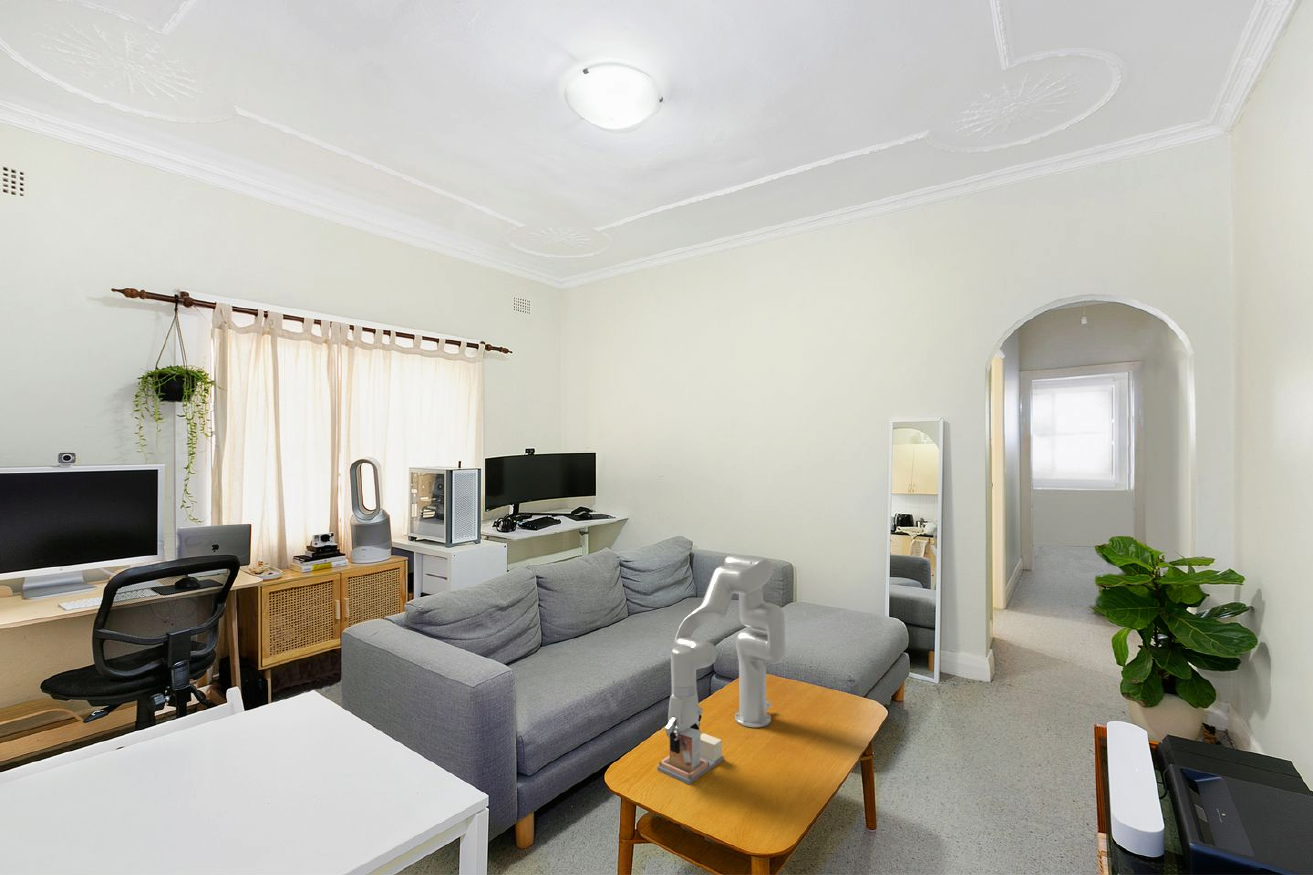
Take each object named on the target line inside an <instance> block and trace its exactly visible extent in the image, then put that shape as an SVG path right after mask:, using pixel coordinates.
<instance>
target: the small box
mask: <svg viewBox="0 0 1313 875" xmlns="http://www.w3.org/2000/svg"><path fill="white" fill-rule="evenodd" d="M675 728H677V726H676V727H675ZM676 733H677V731H674V734H675V735H676ZM701 734H702V733H701V729H699V730H696V729H692V728H690V727H689V728H687V729H685V730H684V731H682V732H681V733H680V735H679V738H678V739H679V740H680V753H679V754H677V753H675V752H673V751H671V750H670V749H669V750H668V751H669V755H668V756H669V765H671V766H674V767H677V768H680V769H682V770H685V771H688V772H692V771H694V770H695V769H696V768H697V767H698V766H699V765H700V740H701Z"/></svg>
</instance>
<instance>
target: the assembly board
mask: <svg viewBox="0 0 1313 875" xmlns="http://www.w3.org/2000/svg"><path fill="white" fill-rule="evenodd" d="M722 742H723V741H722V739H720V738H718V737H716V736H715V737H714V736H711V735H709V734H707V733H701V740H700V765H699V766H698V767H697V768H696V769H695V770H694V771H692V772H688V771H685V770H682V769H680V768H677V767H674V766H671V765H669V755H668V756H666V757H665V758H664V759H662V760H660V761H659V762H658V765H657V771H658V772H661V773H663V774H665V775H667V776H670V777H671V778H673V779H676V780H679V781H680V782H682V783H685V784H686V785H691V784H692V783H693V782H695V781H696V780H698V779H699V778H700V777H702V776H703V775H704V774H707V772H708V771H710V770H712V769H713V768H714V767H715V766H717V765H718V764H719V763H721V762H722V761H723V760H725V756H724V755H723V753H722V752H723V751H722V750H723V749H722V746H723V745H722Z"/></svg>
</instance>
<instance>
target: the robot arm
mask: <svg viewBox="0 0 1313 875" xmlns="http://www.w3.org/2000/svg"><path fill="white" fill-rule="evenodd" d="M723 562H724V563H723V564H724V565H720V566H718V567H716V568H715V569H714V570H713V573H712V576H711V578H710V581H709V584H708V586H707V589H706V591H705V593H704V594H705V595H704V596H703V598H702V602H701V603H700V605H699V606H698V607H697V608H695V609H694V610H692V612H690V613H689V614H688V615H687V616H686V617H685V618H684V619H683V620H682V621H681V623H680V624H679V628H678V629H677V632H676V635H675V637H674V640H673V642H672V643H673V644H672V648H671V651H670V663H671V664H670V670H671V671H670V672H671V673H670V675H671V694H670V697H669V701H668V702H669V703H668V714H667V724H666V726H665V727H664V731H665V733H666V736H667V737H668V738H669V751H670V750H671V751H673V752H675V753H677V754H679V753H680V740H679V739H678V738H679V735H680V733H681V732H682V731H684V730H685V729H687V728H692V729H696V730H700V726H701V720H702V715H703V709H704V708H703V707H700V706H699V697H698V692H697V670H700V669H704V668H708V667H710V666H712V665H713V664H714V663H715V662H716V660H717V657H718V650H717V647H716V646H715V645H714V644H713V643H711V642H709V641H705V640H702V639H697V638H694V637H692V636H694V635H693V634H694V633H695V632H696V631H697V629H698V628H700V627H701V626H703V625H706V624H708V623H711V622H715V621H718V620H722V619H723V618H725V617H726V615H727V612H728V610H729V606H730V604H731V601H732V598H733V596H734V594H738V606H739V607H738V610H739V621H740V623H741V625H743V626H745V627H747V628H751V629H743V630H741V631H739V632H738V634H737V636H736V638H735V647H736V652H737V658H738V683H739V684H738V689H739V693H738V697H739V698H738V699H739V705H738V706H739V707H738V708H739V710H738V711H736V713H735V714H734V717H735V718H734V719H735V721H736V723H738V724H739V725H741V726H744V727H748V728H764V727H767V726H768V725H770V723H771V721H772V719H771V717H772V716H771V715H770V714H769V713H768V712H767V710H768V709H770V707H771V706H772V703H771V702H770V701H768V700H767V669H766V666H765V663H764V662H766V663H768V664H769V663H770V664H779V663H781V662H782V661H783V660H784V657H785V654H786V631H785V630H786V628H785V625H786V624H785V615H784V612H783V609H782V608H781V607H780V606H779V605H777V604H774V603H769V602H766V601H765V600H764V594H763V593H764V592H763V586H764V585H766V584H767V583H768V582H769V581H770V580H771V577H772V575H773V566H772V564H771V562H770V561H769V560H768V559H767V558H763V557H756V556H748V555H744V554H743V555H742V554H731V555H728V556H726V557H725V559H724V561H723ZM755 629H756V630H755ZM759 630H760V631H759ZM763 631H764V632H763ZM676 726H677V728H675V727H676ZM674 731H677V733H676V735H675V734H674Z"/></svg>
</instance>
